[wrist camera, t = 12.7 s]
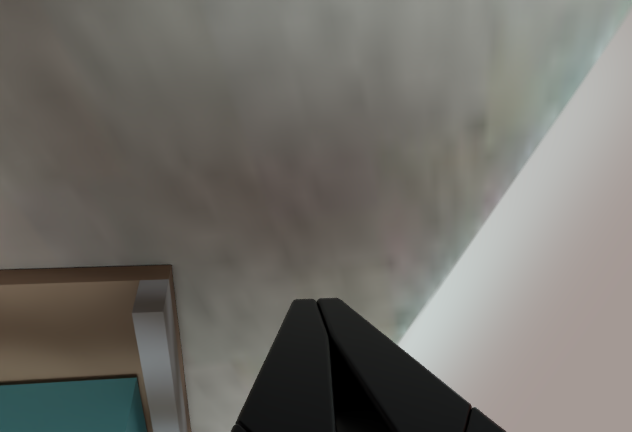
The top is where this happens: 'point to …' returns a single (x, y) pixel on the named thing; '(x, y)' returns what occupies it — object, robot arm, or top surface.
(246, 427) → the robot arm
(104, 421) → the teal tall block
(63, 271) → the mount
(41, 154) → the top surface
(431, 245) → the top surface
